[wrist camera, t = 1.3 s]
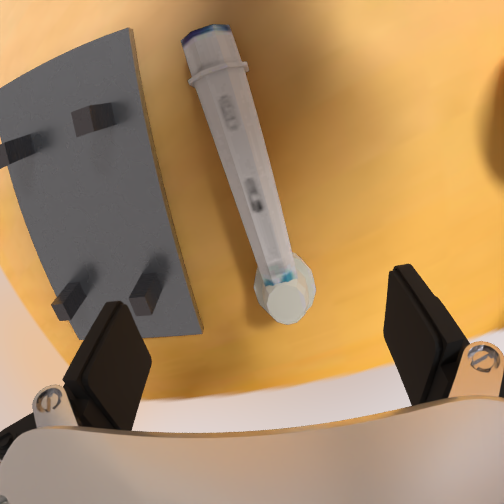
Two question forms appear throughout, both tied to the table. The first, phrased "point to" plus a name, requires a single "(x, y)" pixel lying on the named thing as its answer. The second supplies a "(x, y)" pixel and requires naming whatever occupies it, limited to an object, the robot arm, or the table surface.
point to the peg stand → (96, 189)
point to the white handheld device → (248, 170)
